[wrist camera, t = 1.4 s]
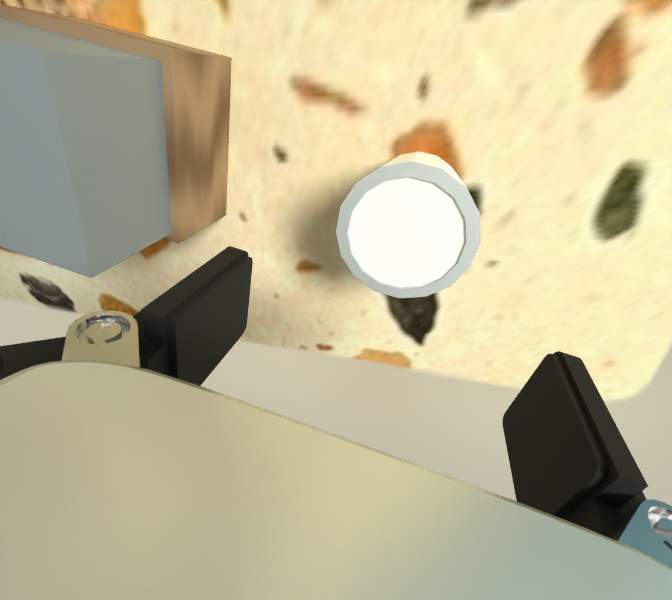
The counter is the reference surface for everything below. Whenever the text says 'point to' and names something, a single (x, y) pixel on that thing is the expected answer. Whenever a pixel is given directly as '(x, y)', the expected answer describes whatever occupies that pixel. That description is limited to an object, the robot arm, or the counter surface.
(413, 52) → the counter surface
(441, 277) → the shot glass
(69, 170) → the slate top block
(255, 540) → the robot arm
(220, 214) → the walnut base block
